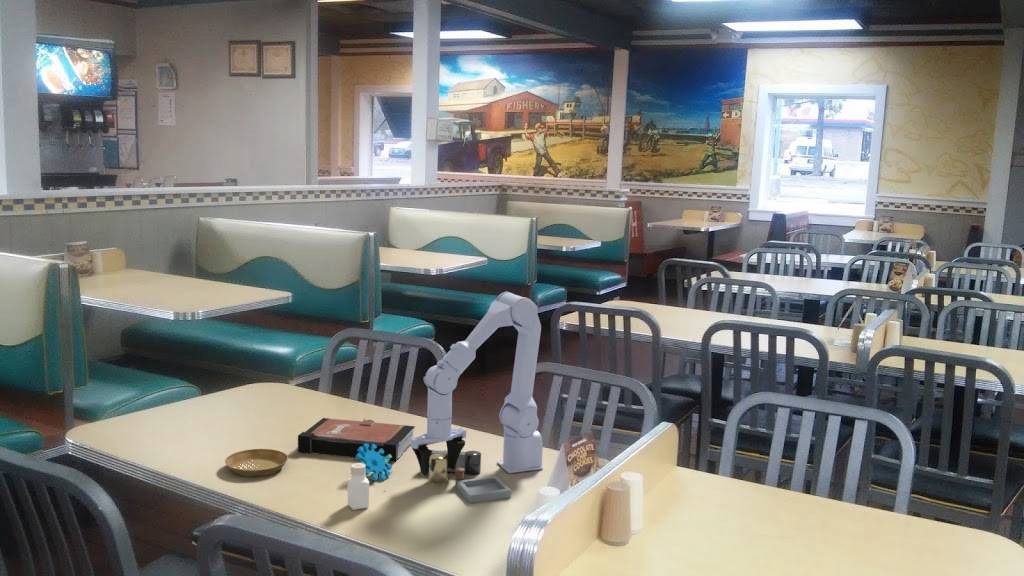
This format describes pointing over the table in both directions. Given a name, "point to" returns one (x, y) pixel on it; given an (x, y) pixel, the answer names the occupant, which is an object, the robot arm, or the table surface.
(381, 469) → the gear
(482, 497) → the tray
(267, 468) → the shallow brown basket
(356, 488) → the salt shaker
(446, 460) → the cylinder
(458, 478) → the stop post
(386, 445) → the book
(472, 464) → the crank
